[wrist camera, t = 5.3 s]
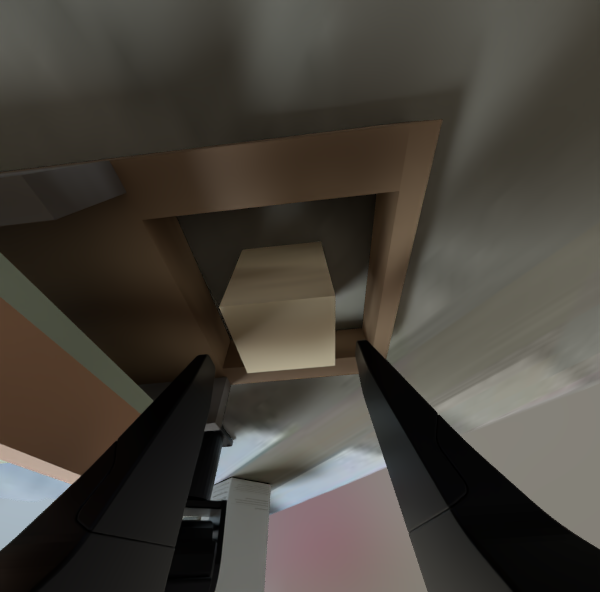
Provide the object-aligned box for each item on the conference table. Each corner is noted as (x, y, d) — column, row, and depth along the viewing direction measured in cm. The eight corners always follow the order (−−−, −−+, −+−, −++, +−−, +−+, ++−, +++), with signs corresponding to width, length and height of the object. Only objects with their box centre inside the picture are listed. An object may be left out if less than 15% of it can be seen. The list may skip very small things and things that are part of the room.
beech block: (323, 301, 15) (335, 365, 11) (259, 308, 15) (247, 373, 11) (320, 241, 12) (335, 295, 8) (242, 249, 12) (219, 307, 8)
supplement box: (231, 475, 38) (204, 633, 26) (272, 483, 42) (264, 623, 30) (206, 487, 42) (173, 628, 30) (246, 493, 46) (230, 620, 34)
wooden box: (372, 344, 17) (399, 415, 13) (85, 370, 18) (20, 445, 14) (408, 122, 9) (523, 113, 5) (-135, 188, 10) (-484, 236, 5)
